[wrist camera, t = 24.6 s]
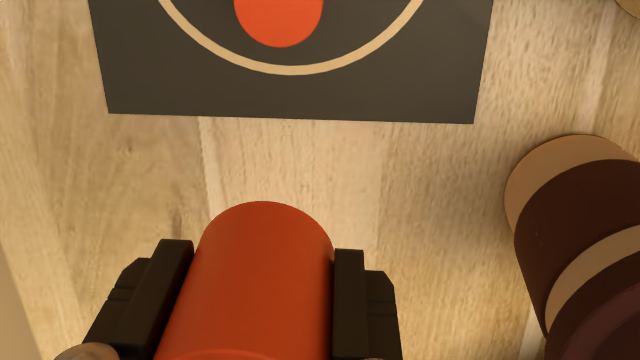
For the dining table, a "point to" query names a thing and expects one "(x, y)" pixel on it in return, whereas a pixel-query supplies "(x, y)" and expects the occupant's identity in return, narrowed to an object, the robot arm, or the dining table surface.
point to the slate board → (295, 61)
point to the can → (631, 7)
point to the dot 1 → (255, 289)
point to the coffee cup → (580, 245)
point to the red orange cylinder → (279, 20)
